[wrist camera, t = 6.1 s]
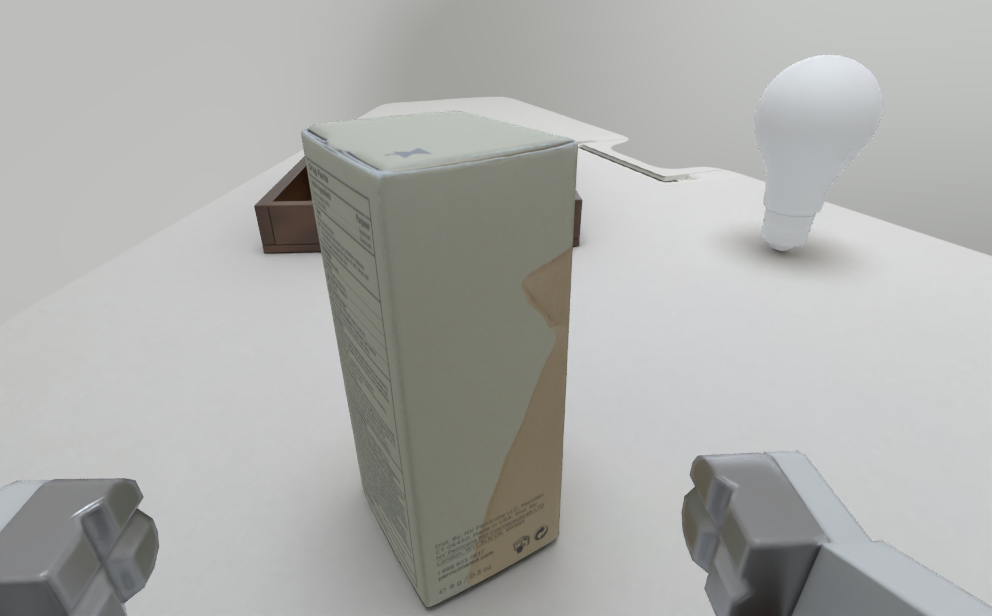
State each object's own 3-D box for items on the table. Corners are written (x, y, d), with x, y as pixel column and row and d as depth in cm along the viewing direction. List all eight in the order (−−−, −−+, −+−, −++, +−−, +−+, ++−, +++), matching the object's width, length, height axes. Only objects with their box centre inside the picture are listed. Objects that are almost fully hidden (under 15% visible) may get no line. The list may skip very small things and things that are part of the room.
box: (563, 541, 16) (596, 140, 10) (422, 617, 14) (376, 172, 8) (473, 433, 20) (464, 103, 14) (354, 480, 18) (294, 118, 12)
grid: (263, 253, 34) (253, 205, 32) (329, 169, 51) (324, 136, 49) (578, 246, 35) (582, 199, 33) (539, 166, 52) (540, 133, 50)
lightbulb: (707, 237, 36) (743, 51, 31) (785, 228, 38) (831, 49, 32) (773, 276, 31) (830, 61, 26) (860, 263, 33) (931, 57, 27)
